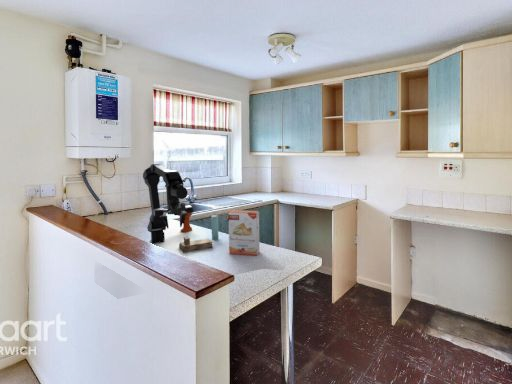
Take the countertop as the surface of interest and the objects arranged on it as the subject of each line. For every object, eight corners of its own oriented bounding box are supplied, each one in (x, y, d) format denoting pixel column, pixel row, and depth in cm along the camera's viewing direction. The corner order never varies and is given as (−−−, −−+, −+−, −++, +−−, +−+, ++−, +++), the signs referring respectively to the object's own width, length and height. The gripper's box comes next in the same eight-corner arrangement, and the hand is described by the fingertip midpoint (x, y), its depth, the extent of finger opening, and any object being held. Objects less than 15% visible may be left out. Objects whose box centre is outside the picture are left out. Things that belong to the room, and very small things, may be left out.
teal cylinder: (214, 239, 181) (213, 217, 179) (210, 238, 183) (210, 216, 182) (219, 238, 183) (219, 216, 181) (216, 237, 186) (215, 215, 184)
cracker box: (228, 254, 156) (227, 211, 153) (232, 250, 162) (231, 209, 159) (257, 256, 153) (256, 212, 150) (259, 252, 159) (259, 210, 156)
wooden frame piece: (183, 252, 160) (183, 247, 160) (179, 247, 168) (179, 243, 168) (212, 247, 167) (212, 243, 166) (207, 243, 174) (206, 239, 174)
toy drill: (164, 233, 190) (165, 208, 190) (188, 230, 206) (189, 207, 205) (169, 234, 187) (170, 209, 187) (193, 231, 203) (194, 207, 202)
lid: (183, 247, 160) (183, 240, 160) (180, 243, 167) (179, 236, 166) (212, 242, 167) (212, 236, 167) (208, 239, 174) (208, 232, 173)
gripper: (156, 200, 147) (158, 234, 150) (196, 197, 156) (197, 228, 158) (152, 197, 157) (153, 228, 159) (189, 194, 166) (191, 224, 168)
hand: (174, 227), depth 161 cm, fingers open, 6 cm apart
